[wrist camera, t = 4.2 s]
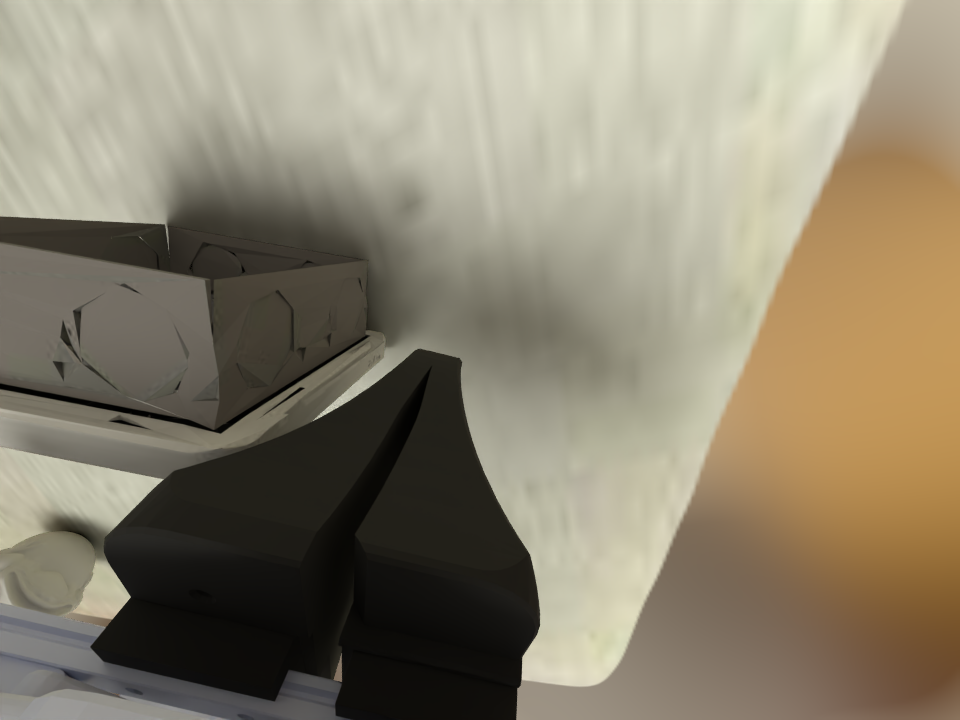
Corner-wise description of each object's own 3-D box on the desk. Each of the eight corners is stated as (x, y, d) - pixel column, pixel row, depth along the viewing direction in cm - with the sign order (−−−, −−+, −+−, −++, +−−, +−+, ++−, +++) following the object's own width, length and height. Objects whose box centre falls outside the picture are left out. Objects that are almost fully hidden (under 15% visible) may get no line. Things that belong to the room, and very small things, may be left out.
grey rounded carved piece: (145, 554, 29) (46, 666, 23) (89, 564, 31) (-14, 668, 25) (74, 504, 26) (-58, 617, 20) (18, 518, 28) (-116, 624, 23)
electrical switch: (175, 311, 16) (-178, 467, 8) (142, 178, 14) (-412, 208, 6) (392, 351, 16) (251, 552, 8) (397, 221, 14) (201, 319, 5)
